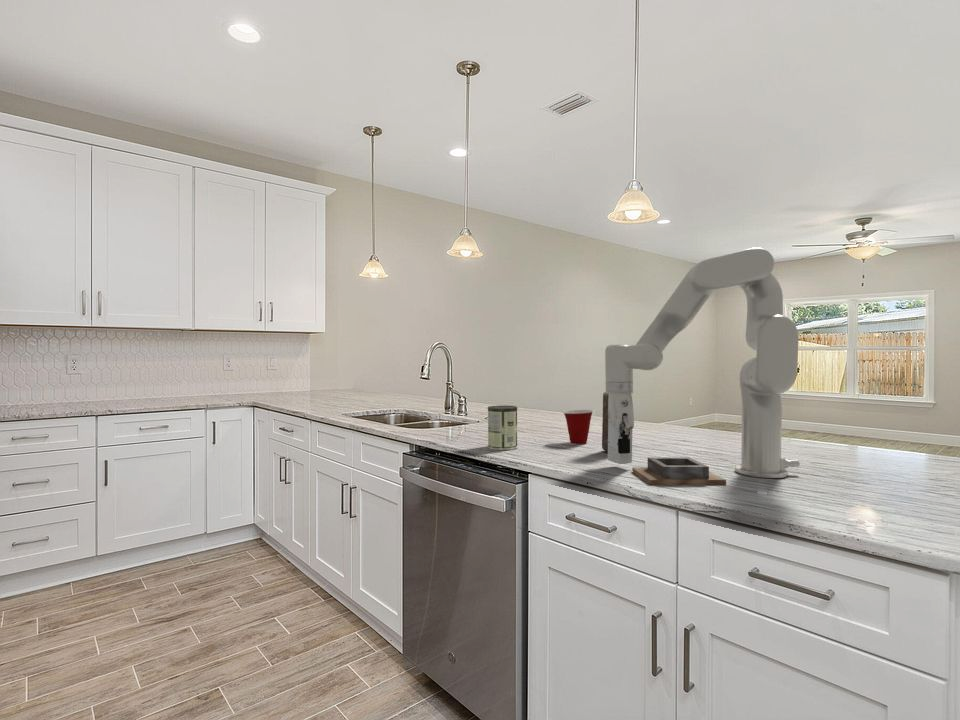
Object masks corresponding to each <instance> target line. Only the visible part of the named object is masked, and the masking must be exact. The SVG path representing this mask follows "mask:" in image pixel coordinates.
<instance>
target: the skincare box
mask: <svg viewBox="0 0 960 720" xmlns="http://www.w3.org/2000/svg"><path fill="white" fill-rule="evenodd" d="M622 427H624V425H623V421H622V422H621V425H620V428H622ZM630 428H631V427H630ZM621 433H622V430H621ZM618 439H619V433H618V429H616V428H614V427H613V426H612V422H611V419H608V452H607V461H609V462H612V463H615V464H617V465H626V464H632V462H633V429H630V453H624V454H620V453H618Z"/></svg>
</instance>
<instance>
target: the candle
mask: <svg viewBox="0 0 960 720" xmlns="http://www.w3.org/2000/svg"><path fill="white" fill-rule="evenodd" d="M608 398H609V393H608V394H607V393H606V391H605V392H603V393H602V424H601V425H602V426H601V427H602V429H601V431H602V433H601V448H602V450H603V451H605V453H608Z"/></svg>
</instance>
